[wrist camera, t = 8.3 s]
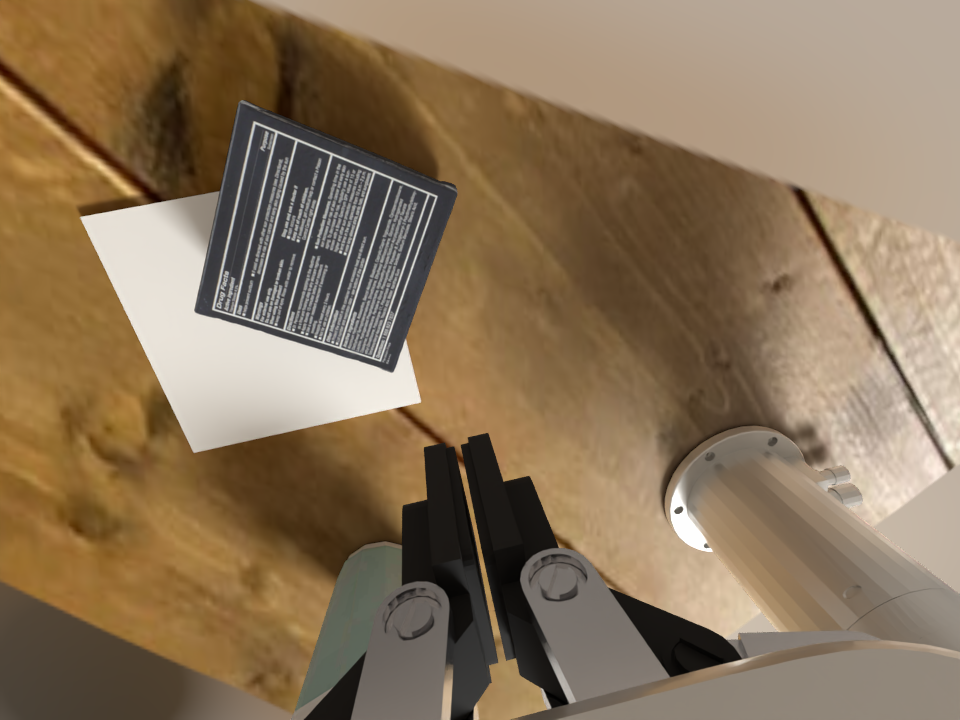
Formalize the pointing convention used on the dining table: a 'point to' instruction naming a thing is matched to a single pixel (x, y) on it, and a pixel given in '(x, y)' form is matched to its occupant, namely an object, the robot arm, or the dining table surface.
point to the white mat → (225, 338)
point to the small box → (320, 239)
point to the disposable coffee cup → (350, 619)
